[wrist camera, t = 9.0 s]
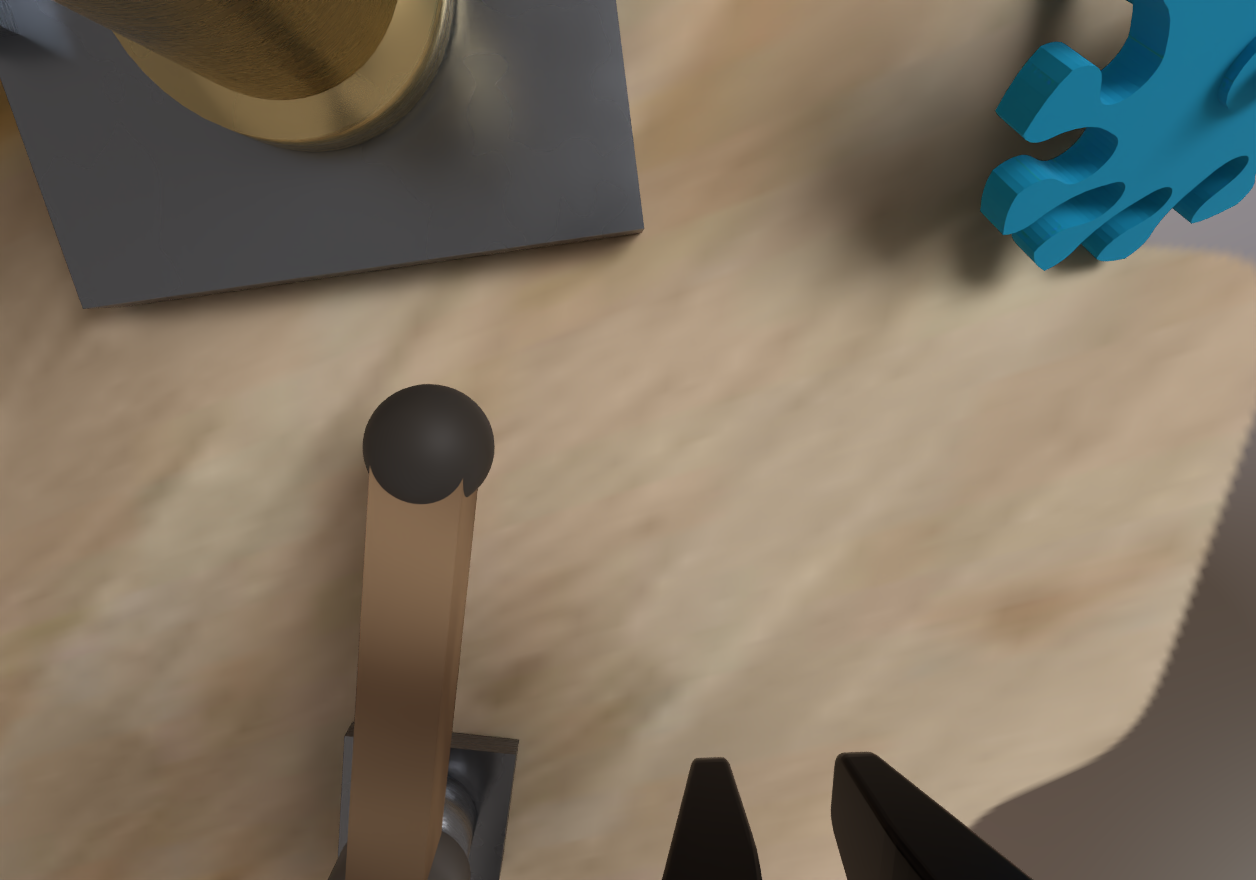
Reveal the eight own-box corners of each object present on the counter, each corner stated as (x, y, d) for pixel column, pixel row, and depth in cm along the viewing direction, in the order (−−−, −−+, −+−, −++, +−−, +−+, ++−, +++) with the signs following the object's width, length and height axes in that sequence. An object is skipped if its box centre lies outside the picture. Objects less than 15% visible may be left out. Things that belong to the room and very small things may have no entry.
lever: (466, 918, 18) (443, 1024, 15) (339, 906, 17) (293, 1013, 15) (531, 388, 14) (515, 411, 11) (370, 364, 13) (315, 382, 11)
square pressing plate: (501, 868, 20) (488, 938, 18) (344, 853, 19) (313, 923, 17) (518, 740, 19) (507, 799, 17) (352, 721, 18) (319, 779, 16)
